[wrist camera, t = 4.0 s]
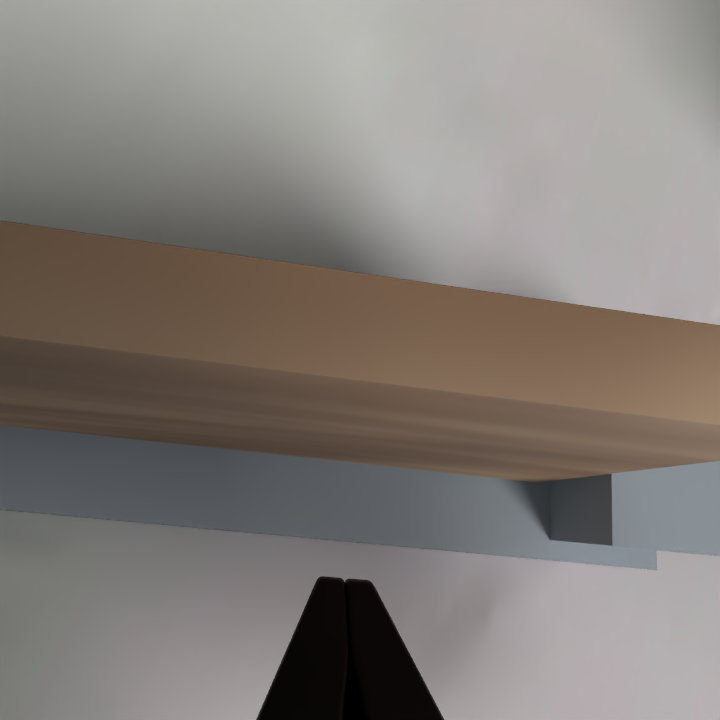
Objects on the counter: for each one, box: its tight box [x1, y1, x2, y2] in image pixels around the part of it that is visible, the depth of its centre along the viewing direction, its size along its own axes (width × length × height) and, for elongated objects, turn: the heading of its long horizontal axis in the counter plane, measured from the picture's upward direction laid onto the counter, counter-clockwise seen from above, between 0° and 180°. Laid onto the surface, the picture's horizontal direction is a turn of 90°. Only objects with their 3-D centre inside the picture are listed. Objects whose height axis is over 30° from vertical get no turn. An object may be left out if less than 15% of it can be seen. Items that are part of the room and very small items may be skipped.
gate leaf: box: [0, 221, 720, 483], centre depth 11 cm, size 2×15×9 cm, turn 84°
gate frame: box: [0, 425, 720, 570], centre depth 14 cm, size 5×23×4 cm, turn 84°
